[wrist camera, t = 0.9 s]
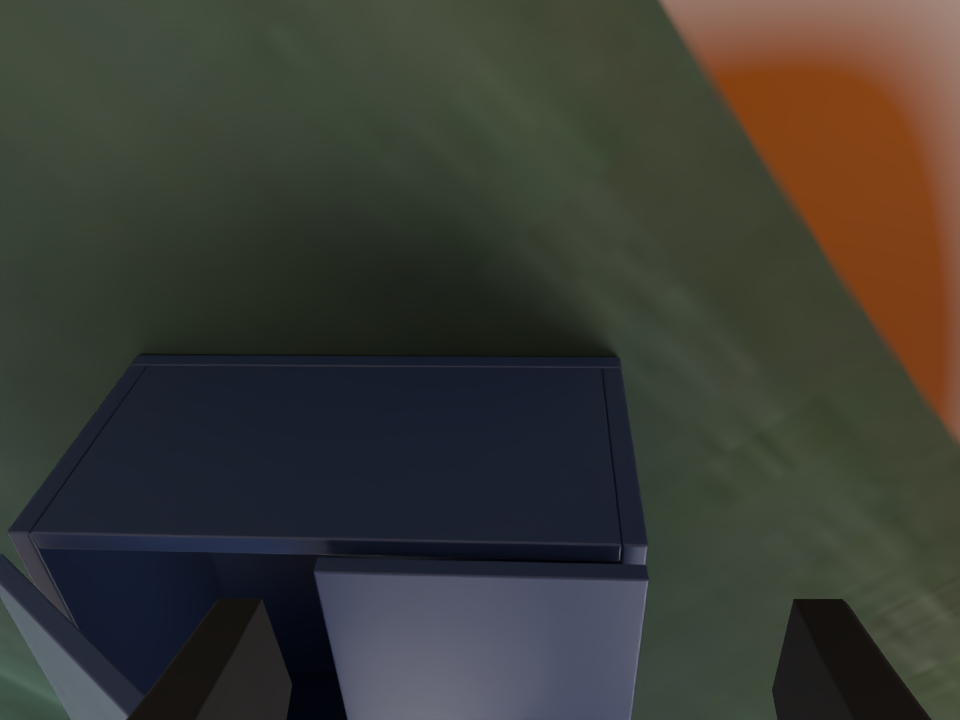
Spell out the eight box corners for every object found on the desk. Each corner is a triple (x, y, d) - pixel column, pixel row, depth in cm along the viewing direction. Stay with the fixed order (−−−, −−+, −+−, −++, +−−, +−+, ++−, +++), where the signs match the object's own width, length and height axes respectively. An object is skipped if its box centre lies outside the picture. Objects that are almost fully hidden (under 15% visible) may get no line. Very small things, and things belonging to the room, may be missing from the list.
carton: (594, 677, 29) (609, 906, 23) (242, 665, 29) (167, 883, 23) (620, 356, 21) (653, 579, 15) (137, 354, 22) (-18, 562, 16)
